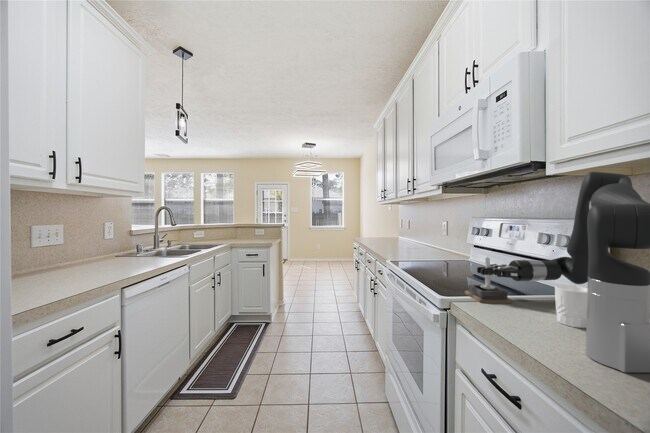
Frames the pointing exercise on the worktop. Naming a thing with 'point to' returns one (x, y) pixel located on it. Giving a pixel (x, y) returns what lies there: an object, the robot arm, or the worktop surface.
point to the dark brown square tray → (488, 295)
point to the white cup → (571, 305)
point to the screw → (487, 278)
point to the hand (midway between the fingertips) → (479, 270)
